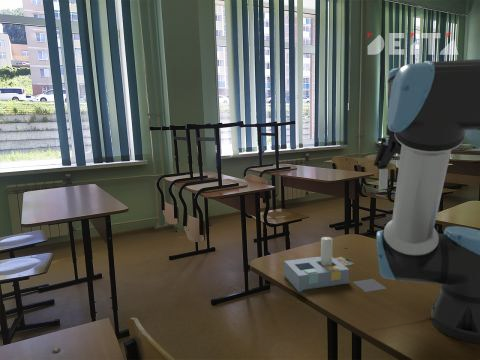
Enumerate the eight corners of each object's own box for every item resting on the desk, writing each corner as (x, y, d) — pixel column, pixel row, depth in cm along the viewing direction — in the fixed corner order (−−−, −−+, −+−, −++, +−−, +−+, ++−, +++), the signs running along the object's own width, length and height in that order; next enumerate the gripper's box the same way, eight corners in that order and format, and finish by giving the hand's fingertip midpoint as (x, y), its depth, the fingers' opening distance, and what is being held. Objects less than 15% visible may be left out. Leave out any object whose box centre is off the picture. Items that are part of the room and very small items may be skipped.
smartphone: (304, 265, 130) (304, 261, 130) (342, 259, 135) (342, 256, 134) (315, 274, 123) (315, 270, 123) (355, 267, 127) (355, 264, 127)
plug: (333, 277, 117) (334, 239, 115) (323, 278, 116) (324, 241, 114) (328, 272, 120) (329, 236, 118) (318, 274, 119) (319, 237, 117)
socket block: (349, 285, 113) (349, 268, 112) (299, 292, 109) (299, 275, 108) (329, 269, 125) (330, 254, 124) (284, 275, 121) (284, 260, 120)
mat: (386, 290, 109) (387, 288, 109) (365, 293, 107) (365, 291, 107) (372, 280, 116) (372, 278, 116) (352, 283, 114) (352, 281, 114)
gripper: (444, 122, 101) (439, 199, 105) (383, 121, 125) (381, 185, 128) (421, 122, 99) (417, 202, 102) (364, 122, 123) (362, 186, 126)
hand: (397, 192), depth 115 cm, fingers open, 13 cm apart
